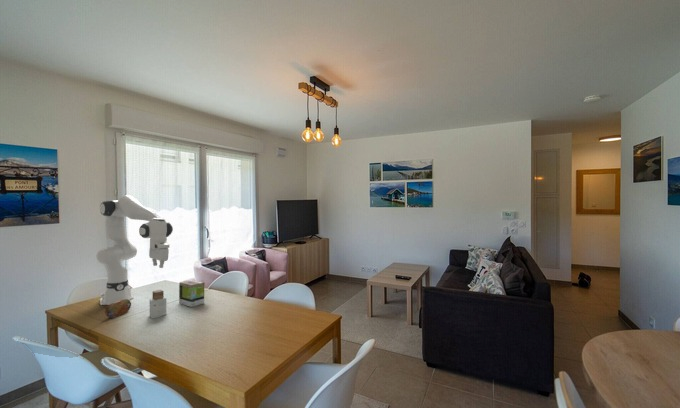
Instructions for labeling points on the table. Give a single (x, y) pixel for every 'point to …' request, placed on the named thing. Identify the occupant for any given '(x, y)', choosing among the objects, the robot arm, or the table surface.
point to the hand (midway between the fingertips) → (158, 266)
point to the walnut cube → (158, 294)
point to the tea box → (191, 293)
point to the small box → (157, 307)
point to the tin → (117, 308)
